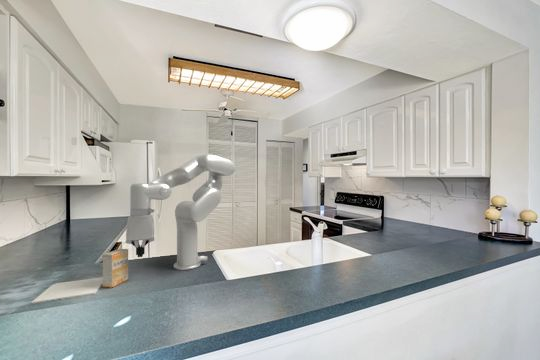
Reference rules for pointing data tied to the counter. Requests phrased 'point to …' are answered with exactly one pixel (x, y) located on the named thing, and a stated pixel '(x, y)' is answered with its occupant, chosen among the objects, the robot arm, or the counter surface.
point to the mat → (70, 290)
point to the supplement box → (115, 267)
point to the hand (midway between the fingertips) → (140, 256)
